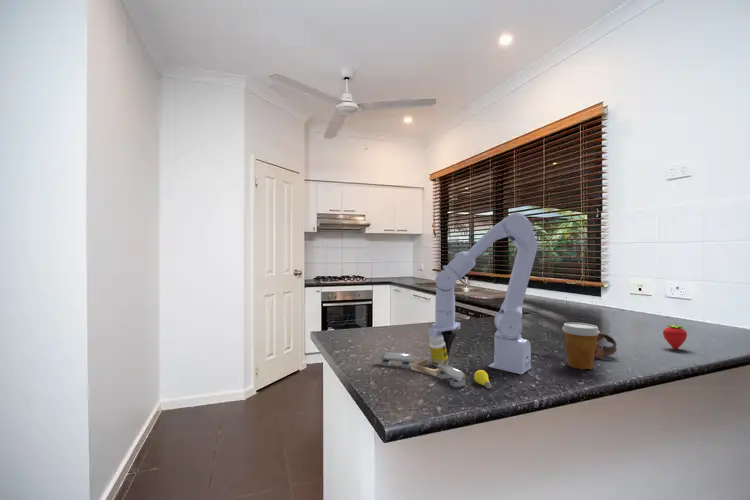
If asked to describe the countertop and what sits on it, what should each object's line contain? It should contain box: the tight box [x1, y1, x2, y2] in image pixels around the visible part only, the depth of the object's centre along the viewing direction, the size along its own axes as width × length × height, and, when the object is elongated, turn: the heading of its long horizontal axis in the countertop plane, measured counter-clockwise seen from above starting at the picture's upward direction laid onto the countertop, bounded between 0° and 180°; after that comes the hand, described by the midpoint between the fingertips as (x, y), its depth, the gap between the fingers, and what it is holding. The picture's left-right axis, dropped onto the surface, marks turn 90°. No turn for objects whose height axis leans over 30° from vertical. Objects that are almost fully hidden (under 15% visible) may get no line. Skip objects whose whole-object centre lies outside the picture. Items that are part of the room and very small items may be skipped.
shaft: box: [436, 362, 467, 388], centre depth 91 cm, size 9×3×4 cm, turn 22°
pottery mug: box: [594, 332, 617, 359], centre depth 117 cm, size 12×9×8 cm
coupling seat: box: [410, 358, 441, 377], centre depth 100 cm, size 8×7×1 cm
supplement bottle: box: [428, 334, 449, 367], centre depth 104 cm, size 5×5×8 cm
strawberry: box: [662, 320, 688, 350], centre depth 125 cm, size 6×8×10 cm
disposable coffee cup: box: [561, 322, 601, 370], centre depth 104 cm, size 10×10×12 cm
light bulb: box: [473, 369, 493, 390], centre depth 89 cm, size 3×6×4 cm, turn 14°
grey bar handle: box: [379, 351, 413, 370], centre depth 104 cm, size 9×3×4 cm, turn 72°
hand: (444, 356), depth 106 cm, fingers closed, pressing on supplement bottle
